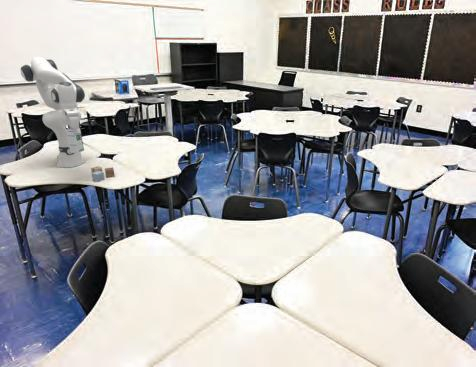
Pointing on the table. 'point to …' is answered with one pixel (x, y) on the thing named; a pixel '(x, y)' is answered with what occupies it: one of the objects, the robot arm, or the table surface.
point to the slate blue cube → (98, 176)
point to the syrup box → (75, 141)
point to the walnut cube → (109, 172)
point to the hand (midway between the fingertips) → (74, 133)
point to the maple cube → (96, 169)
